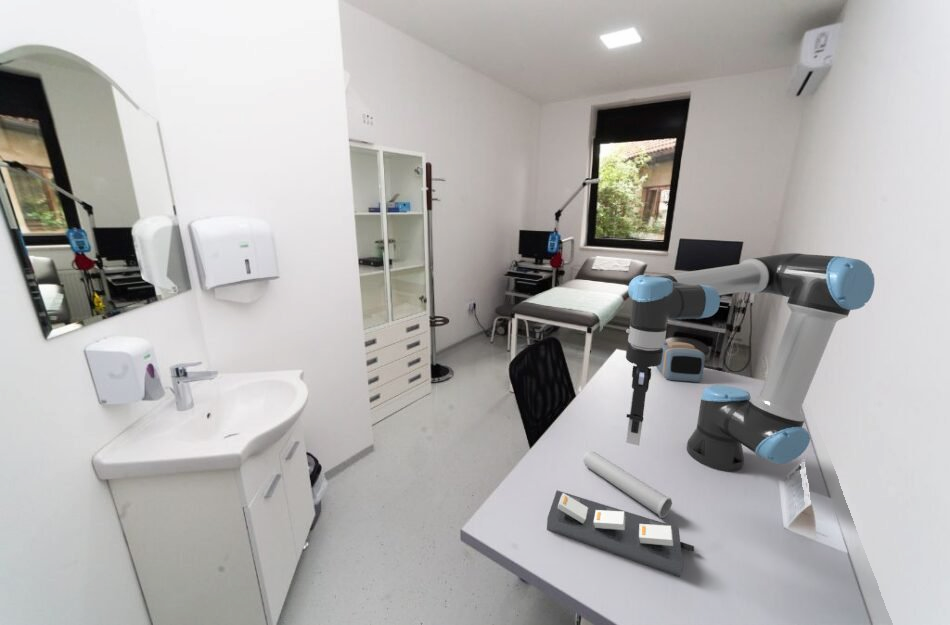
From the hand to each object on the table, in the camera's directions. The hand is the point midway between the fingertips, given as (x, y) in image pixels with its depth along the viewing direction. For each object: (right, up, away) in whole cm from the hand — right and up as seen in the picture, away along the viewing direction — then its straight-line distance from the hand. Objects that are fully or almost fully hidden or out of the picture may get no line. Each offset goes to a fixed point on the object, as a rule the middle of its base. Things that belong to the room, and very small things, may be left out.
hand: (634, 428), depth 88 cm
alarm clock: (+59, -2, +87) cm, 105 cm away
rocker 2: (-8, -20, -5) cm, 22 cm away
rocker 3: (+1, -21, -9) cm, 23 cm away
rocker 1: (-16, -19, -1) cm, 25 cm away
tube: (-5, -15, +22) cm, 27 cm away
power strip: (-5, -24, -3) cm, 25 cm away
